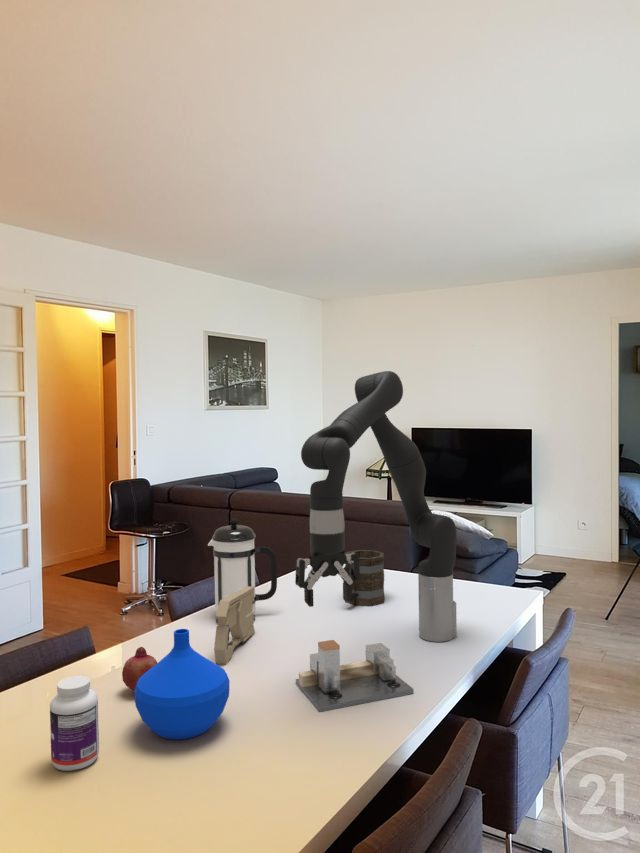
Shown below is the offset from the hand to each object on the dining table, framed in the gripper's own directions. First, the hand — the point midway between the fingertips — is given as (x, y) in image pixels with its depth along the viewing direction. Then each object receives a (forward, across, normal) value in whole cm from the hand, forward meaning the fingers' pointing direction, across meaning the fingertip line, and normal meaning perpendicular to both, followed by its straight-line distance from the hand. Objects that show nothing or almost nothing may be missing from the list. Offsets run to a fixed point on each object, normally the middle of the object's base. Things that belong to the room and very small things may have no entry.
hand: (328, 603), depth 142 cm
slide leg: (+19, 0, -1) cm, 19 cm away
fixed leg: (+19, -14, -1) cm, 23 cm away
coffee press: (+20, +5, -59) cm, 63 cm away
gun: (+20, +12, -35) cm, 43 cm away
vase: (+20, +32, +2) cm, 38 cm away
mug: (+20, -34, -57) cm, 70 cm away
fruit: (+20, +38, -18) cm, 47 cm away
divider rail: (+19, -6, -4) cm, 20 cm away
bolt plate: (+20, -6, 0) cm, 21 cm away
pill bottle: (+20, +52, +8) cm, 56 cm away
